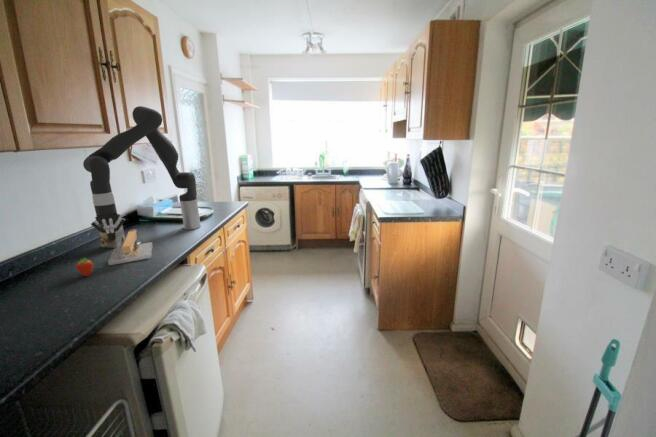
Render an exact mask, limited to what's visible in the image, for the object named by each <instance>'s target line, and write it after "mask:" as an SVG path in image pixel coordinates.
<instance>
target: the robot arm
mask: <svg viewBox="0 0 656 437" xmlns="http://www.w3.org/2000/svg"><path fill="white" fill-rule="evenodd" d="M132 119H133V121H134V124H135V125H134V126H133V127H132V128H129V129H127V130H125V131H122V132H120V133H118V134H115V135H114V136H113V137H111V138H110V139H109V140H107V142H106V143H105V144H104V145H103V146H102V147H100V148H98V149H97V150H96V151H95V150H94V152H92V153H91V154H89V155H88V156H86V158H85V159H84V161H83V164H82V165H83V168H84V170H86V172H88V173H90V174H91V180H90V182H89V184H90V190H91V194H92V203H93V207H94V212H95V217H96V219H95V220H94V221H92V222H91V223H90V225H91V226H92V227H93V228H95V229H96V230H97V231H98V230H99V231H100V232H102V233H107V236H108V240H110V241H115V239H116V234H115V232H116V231H118V230H119V229H120V227H121V226H123V224H124V223H125V221H126V218H125V217H124V218H123V217H119V215H118V214H119V213H118V210H117V206H116V201H115V197H114V194H113V191H112V186H111V182H110V181H111V171H110V169H111V168H110V165H109V164H110V163H111V162H112V161H115V160H117V159H118V158H120V157H121V156H122V155H123V154H124V153H125V152H126V151H128V149H130V148H131V147H132V146H133V145H135V144H136V143H137V142H139V141H140V140H142V139H143V138H146V139H147V140H148V141H149V143H150V145H151V147H152V148H153V149H154V151H155V153H156V155H157V156H158V158H159V159H160V162H162V164H163V166H164V167H165V170H166V171H167V173H168V175H169V177H170V179H171V180H172V181H171V182H172V183H173V185H174V186H175V188H178V189H186V192H185V193H182V194H180V195H179V197H178V198H179V205H180V209H181V217H182V224H183V229H184V230H187V231H188V230H191V231H192V230H196V229H200V228H201V219H200V213H199V212H200V211H199V205H198V200H197V199H198V197H197V192H198V191H197V183H196V177H195V176H196V175H195V174H194V173H193V172H190V171H189V172H188V171H187V172H182V171H181V172H180V171H179V170H178V167H177V165H178V161H179V153H178V151H177V149H176V147H175V145H174V144H173V143H172V142H171V140H170V139H168V137H166V135H164V134H163V133H162V132H161V130H160V129H159V127H161V125H162V123H163V116H162V115H161V113H160V112H159V111H158V110H156V109H153V108H150V107H146V106H144V105H143V106H141V105H139V106H136V107H134V108H133V111H132ZM117 220H119V221H118V222H119V224H118V226H117V227H116V228H115V225H114V224H115V223H116V222H117ZM98 222H99V223H100V224H102V225H103V226H104V228H105V229H104V228H103V227H101V226H100V225H98V224H99V223H98ZM109 225H110V228H109ZM110 229H111V231H110Z"/></svg>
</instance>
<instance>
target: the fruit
mask: <svg viewBox="0 0 656 437" xmlns="http://www.w3.org/2000/svg"><path fill="white" fill-rule="evenodd" d="M79 260H80V261H76V262H77V263H76V269H77V271H78V272H79V273H80V274H81V275H82V276H84V277H89V276H90V275H91V274H92V272H93V269H94V263H93V262H92V260H90V258H87V257H82V258H79Z"/></svg>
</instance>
